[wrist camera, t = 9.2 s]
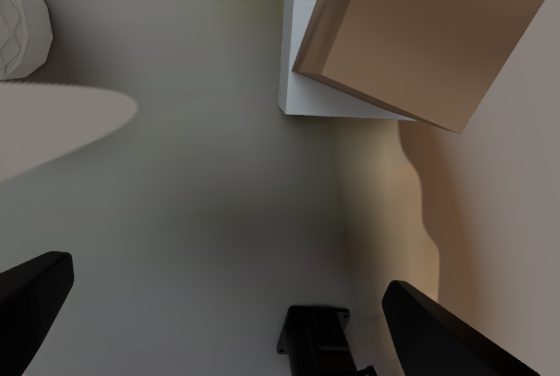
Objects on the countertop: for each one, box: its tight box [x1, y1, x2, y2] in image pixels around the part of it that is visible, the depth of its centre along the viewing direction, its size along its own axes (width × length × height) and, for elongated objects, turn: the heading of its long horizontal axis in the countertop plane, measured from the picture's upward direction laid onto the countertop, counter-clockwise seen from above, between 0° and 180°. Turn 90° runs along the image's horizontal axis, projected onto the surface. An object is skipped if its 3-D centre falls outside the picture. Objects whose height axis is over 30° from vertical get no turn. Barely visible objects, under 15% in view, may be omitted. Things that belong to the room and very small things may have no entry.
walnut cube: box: [291, 0, 544, 134], centre depth 11 cm, size 6×6×6 cm
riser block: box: [278, 0, 417, 121], centre depth 16 cm, size 8×8×4 cm
